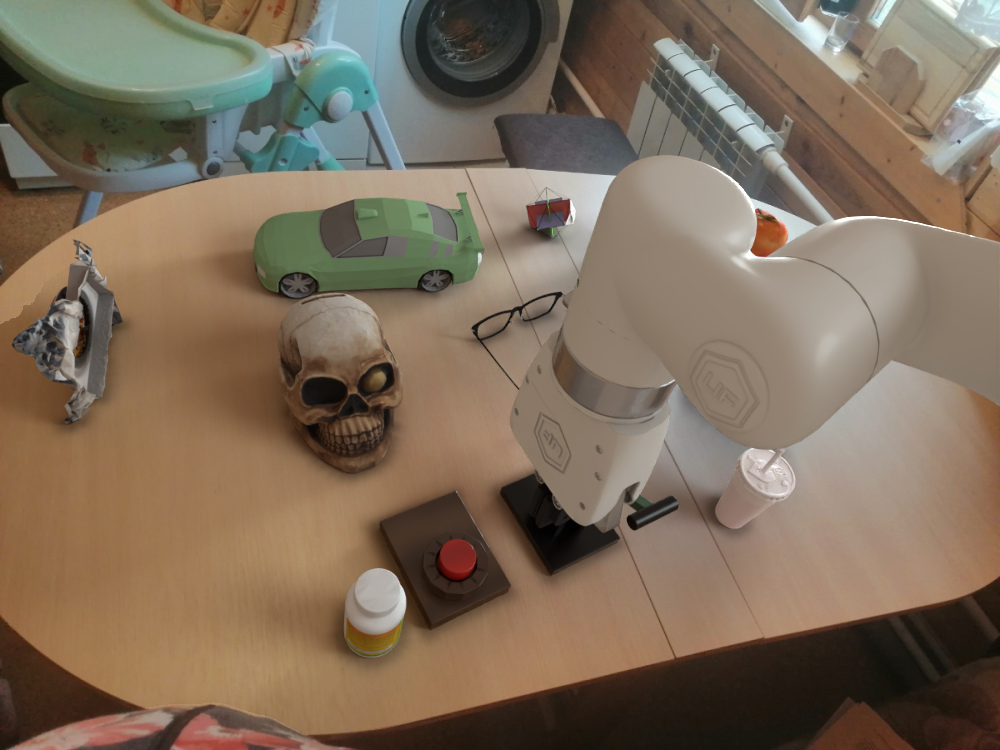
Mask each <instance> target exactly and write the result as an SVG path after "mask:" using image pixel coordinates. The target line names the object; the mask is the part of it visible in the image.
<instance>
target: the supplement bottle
mask: <svg viewBox="0 0 1000 750" xmlns="http://www.w3.org/2000/svg"><path fill="white" fill-rule="evenodd" d="M406 609H407V596H406V592H405V590H404V588H403V587H402V585H401V582H400V580H399V578H398V577H397V575H396V574H395V573H394V572H392V571H391V570H388V569H386V568H381V567H377V568H370V569H368V570H366V571H364V572H363V573H362V574H360V576H359V577H358V578H357V579H356V581H355V582H354V583H353V584H352V586H350V588H349V590H348V592H347V594H346V597H345V603H344V614H343V634H344V635H343V636H344V640H345V642H346V645H347V646H348V647H349V649H350V650H351V651H352V652H353V653H355V654H356V655H358V656H360V657H363V658H367V659H369V658H370V659H374V658H380V657H382V656H385V655H386V654H387V653H389V652H390V651H392V650H393V649H394V648H395V646H396V645H397V643H398V642H399V639H400V637H401V634H402V633H401V632H402V628H403V623H404V618H405V614H406Z"/></svg>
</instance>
